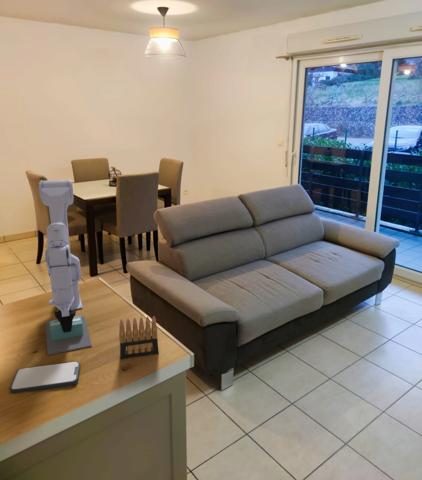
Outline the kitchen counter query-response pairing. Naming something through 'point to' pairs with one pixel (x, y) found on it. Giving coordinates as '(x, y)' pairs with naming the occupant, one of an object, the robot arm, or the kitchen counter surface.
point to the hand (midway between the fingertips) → (66, 326)
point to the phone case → (45, 377)
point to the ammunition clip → (138, 339)
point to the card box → (59, 334)
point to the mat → (68, 341)
